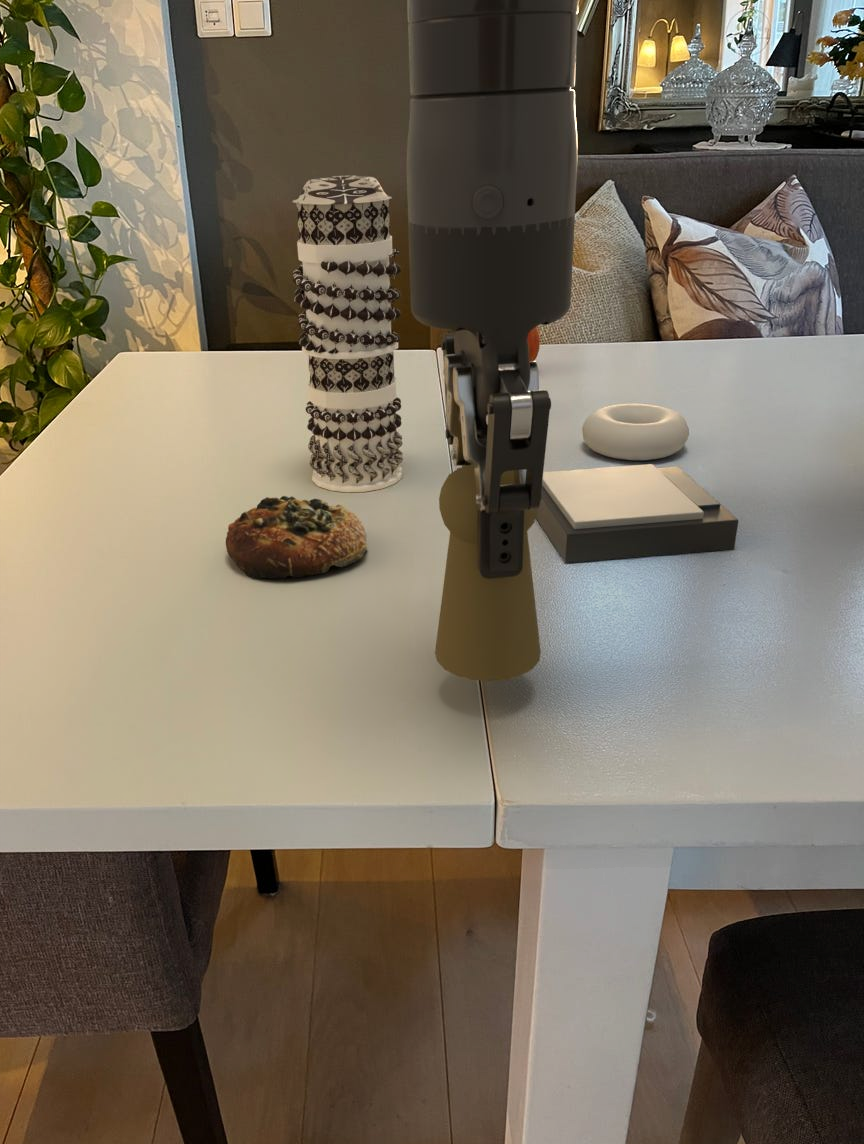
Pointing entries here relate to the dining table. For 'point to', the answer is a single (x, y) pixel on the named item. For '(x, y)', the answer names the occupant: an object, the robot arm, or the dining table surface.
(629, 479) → the scale
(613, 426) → the donut
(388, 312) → the decorative candle
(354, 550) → the bread roll
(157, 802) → the dining table surface
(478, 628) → the olive game pawn
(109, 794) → the dining table surface
